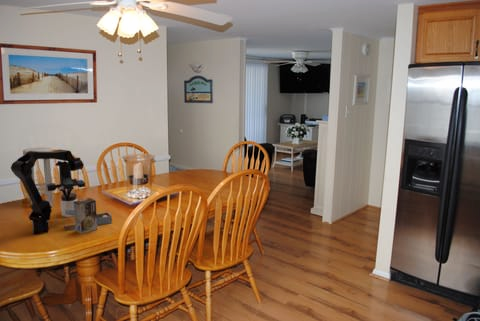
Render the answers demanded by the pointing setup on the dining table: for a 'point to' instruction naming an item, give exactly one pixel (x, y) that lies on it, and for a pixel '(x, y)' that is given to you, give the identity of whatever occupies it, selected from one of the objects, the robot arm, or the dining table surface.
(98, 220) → the grey open box
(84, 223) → the coffee box
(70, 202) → the jar
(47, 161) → the stool
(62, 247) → the dining table surface
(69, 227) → the catapult base
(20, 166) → the robot arm
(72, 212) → the lever
